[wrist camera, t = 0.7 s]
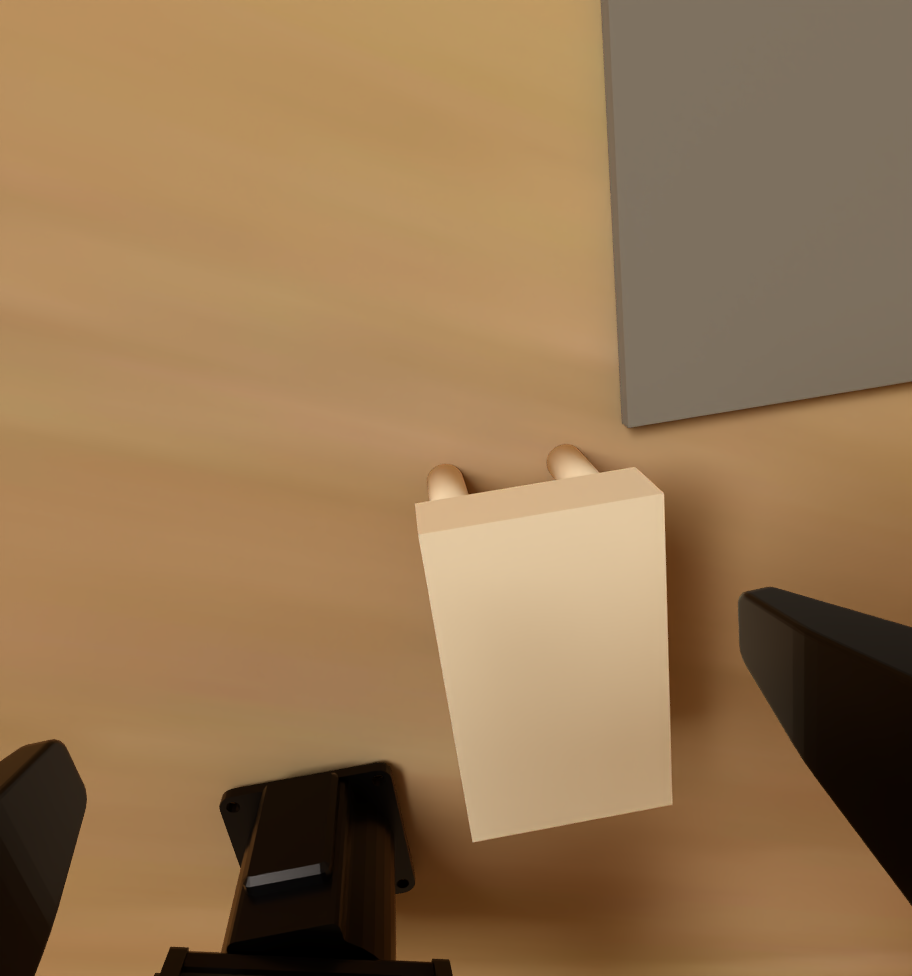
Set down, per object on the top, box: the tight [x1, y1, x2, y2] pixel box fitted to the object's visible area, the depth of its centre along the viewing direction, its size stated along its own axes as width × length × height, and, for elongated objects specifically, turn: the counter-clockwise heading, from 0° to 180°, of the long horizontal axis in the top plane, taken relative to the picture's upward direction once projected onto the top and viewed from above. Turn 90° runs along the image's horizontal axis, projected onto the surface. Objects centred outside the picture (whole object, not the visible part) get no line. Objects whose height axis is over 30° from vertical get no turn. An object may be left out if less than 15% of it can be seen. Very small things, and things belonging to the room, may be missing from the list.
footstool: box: [415, 444, 672, 842], centre depth 20 cm, size 10×6×6 cm, turn 8°
